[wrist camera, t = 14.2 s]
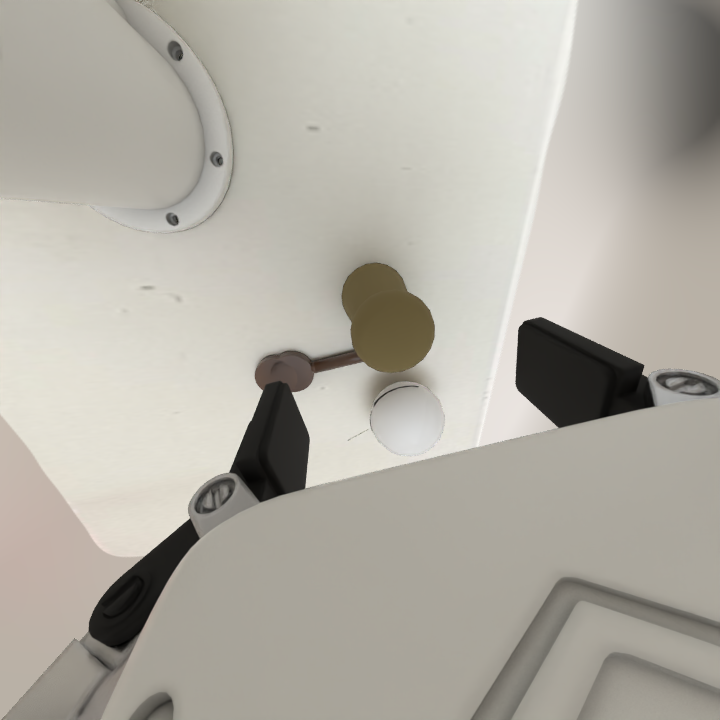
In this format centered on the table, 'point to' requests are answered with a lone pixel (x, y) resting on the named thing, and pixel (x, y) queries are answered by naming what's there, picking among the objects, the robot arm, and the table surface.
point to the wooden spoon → (298, 368)
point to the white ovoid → (407, 418)
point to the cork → (386, 319)
